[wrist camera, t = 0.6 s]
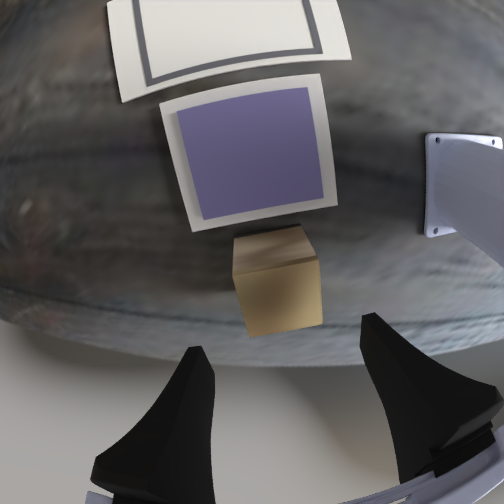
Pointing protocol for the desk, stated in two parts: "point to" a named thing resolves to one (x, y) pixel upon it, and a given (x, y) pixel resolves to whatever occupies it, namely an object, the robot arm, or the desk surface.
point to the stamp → (277, 280)
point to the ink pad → (251, 150)
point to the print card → (217, 38)
